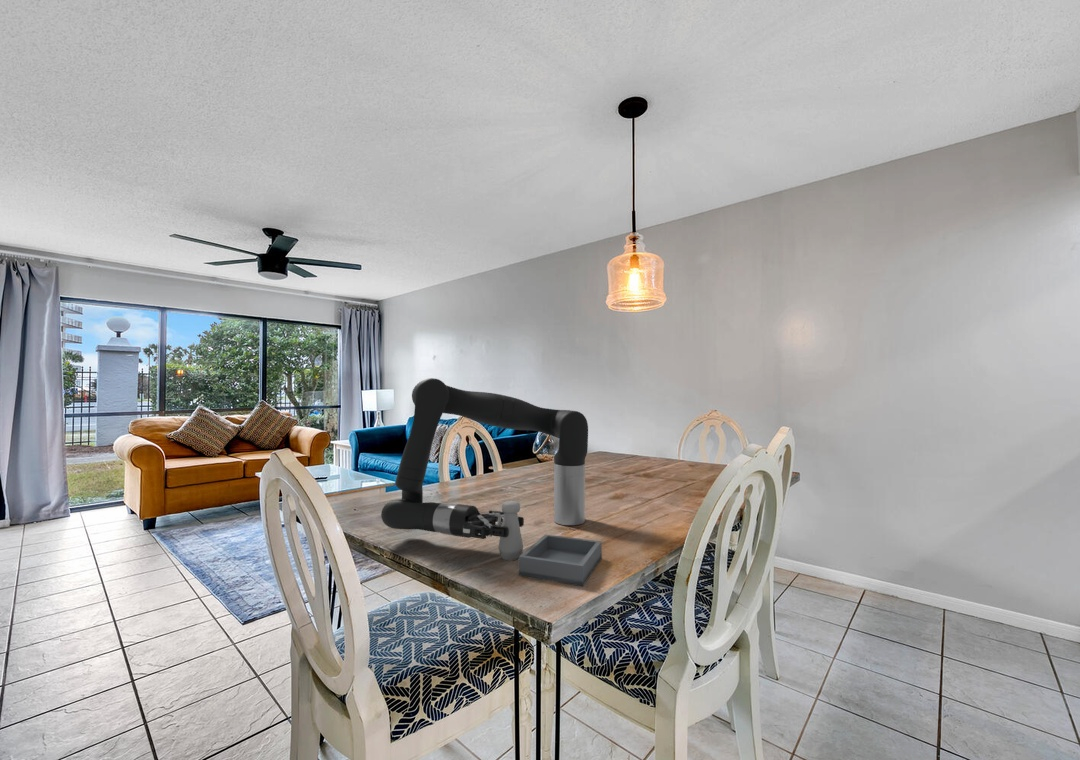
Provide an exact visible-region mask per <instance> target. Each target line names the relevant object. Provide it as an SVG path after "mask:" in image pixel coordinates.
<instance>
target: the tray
mask: <svg viewBox="0 0 1080 760" xmlns="http://www.w3.org/2000/svg"><path fill="white" fill-rule="evenodd" d="M601 560H602V540H601V541H600V540H593V539H586V538H577V537H570V536H569V537H568V536H561V535H554V534H553V535H552V534H547V533H546V534H544V535H543V536H541V537H540V538H539V539H538V540H537V541H536V542H534V543H533V544H532V545H531V546H530V547H528V548H527V549H526V550H525V551H524V552H523V553H521V554H520V556H519V559H518V577H524V578H530V579H535V580H536V579H537V580H543V581H548V582H554V583H561V584H567V585H571V586H572V585H573V586H579V587H584V585H585V584H586V582H587V581H588V580H589V578H590V577H591V575H592V573H593V572H594V571H595V570H596V567H597V566H598V565H599V563H600V562H601Z"/></svg>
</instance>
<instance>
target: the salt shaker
mask: <svg viewBox="0 0 1080 760" xmlns="http://www.w3.org/2000/svg"><path fill="white" fill-rule="evenodd" d="M501 511H502V512H504V517H503V518H502V519H503V523H502V522H501V523H502V526H505V527H508V528H509V535H508V536H507V537H499V542H498V547H497V548H498V552H499V554H500V556H501V558H502V559H503V560H504V561H516V560H519V556H520V555H521V554H522V552H523V550H524V543H523V538H522V533H521V527H519V521H518V517H519V516H518V513H519V512H520V511H521V505H520V503H519V501H516V500H506V501H504V502H503V503H501Z"/></svg>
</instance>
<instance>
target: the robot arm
mask: <svg viewBox="0 0 1080 760" xmlns="http://www.w3.org/2000/svg"><path fill="white" fill-rule="evenodd" d="M411 399H412V403H413V405H414V413H413V421H412V425H411V429H410V432H409V435H408V439H407V441H406V444H405V447H404V449H403V452H402V455H401V459H400V463H399V466H398V470H397V474H396V478H395V487H396V488H397V489H399V490H401V498H400V499H393V500H391V501H388V502H387V503H386V504H384V506H383V507H382V510H381V514H380V516H381V517H380V519H381V521H382V523H383V524H384V525H385V526H387V527H388V528H391V529H395V530H421V531H426V532H432V533H439V534H443V535H446V536H453V537H458V538H459V537H460V538H461V537H462V538H468V539H469V538H475V539H481V540H485V539H486V538H487V537H488V538H492V537H499V538H500V537H507V536H508V535H509V528H508V527H505V526H502V523H503V517H504V512H503V511H502V510H492V509H490V510H488V512H482V514H481V513H480V511H479V509H478V508H477V507H476V506H475V505H471V504H469V505H468V504H460V503H449V502H448V503H443V502H442V503H440V502H432V501H431V502H423V501H424V499H423V497H424V495H423V494H424V493H423V491H424V490H423V489H424V488H423V486H424V481H425V477H426V472H427V469H428V464H429V459H430V455H431V451H432V446H433V442H434V438H435V435H436V432H437V428H438V426H439V423H440V421H441V418H442V416H443V414H445V415H446V414H447V415H455V416H459V417H464V418H466V419H470V420H472V421H475V422H478V423H481V424H485V425H487V426H488V425H489V426H493V427H497V428H502V429H507V430H515V431H516V430H517V431H534V432H538V433H542V434H546V435H548V436H552V437H554V438H556V439H558V450H557V452H555V454H554V457H553V459H554V460H553V461H554V462H553V463H554V464H553V468H554V469H553V470H554V471H553V473H554V477H553V478H554V479H553V480H554V481H553V484H554V485H553V487H554V488H553V506H554V507H553V512H554V513H553V521H554V523H556V524H559V525H561V526H562V525H563V526H579V525H582V524H584V523H586V515H585V514H586V513H585V512H586V510H585V509H586V475H585V473H586V457H587V455H588V446H589V445H588V444H589V424H588V420H587V418H586V416H585V415H584V414H583V413H581V412H580V411H577V410H572V409H571V410H570V409H554V408H553V409H552V408H545V407H541V406H540V407H539V406H537V405H535V404H532V403H530V402H528V401H525V400H522V399H519V398H516V397H512V396H508V395H504V394H498V393H493V392H488V391H487V392H486V391H473V390H472V391H471V390H463V389H460V388H456V387H454V386H453V387H452V386H450V385H446V384H445V382H444V381H442V380H440V379H438V378H426V379H423V380H421V381H419V382H418V383H417V384H416V385H415V386H414V387H413V389H412V391H411ZM524 518H525V517H523V516H518V521H519V527H520V528H522V527H524V525H525V524H524V522H525V519H524Z"/></svg>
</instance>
